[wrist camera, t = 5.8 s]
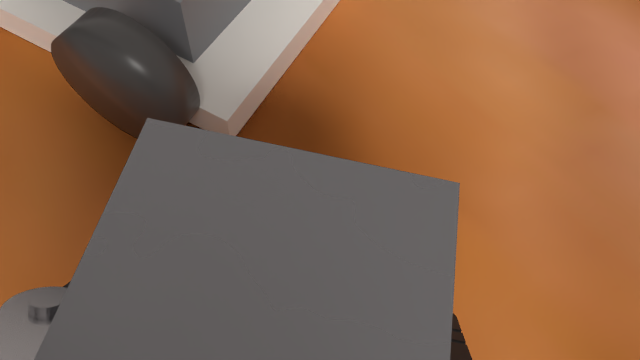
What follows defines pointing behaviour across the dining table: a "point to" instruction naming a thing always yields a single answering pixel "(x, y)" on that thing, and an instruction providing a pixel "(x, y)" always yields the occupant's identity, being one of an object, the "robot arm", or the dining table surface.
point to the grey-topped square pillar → (261, 258)
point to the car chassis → (170, 54)
